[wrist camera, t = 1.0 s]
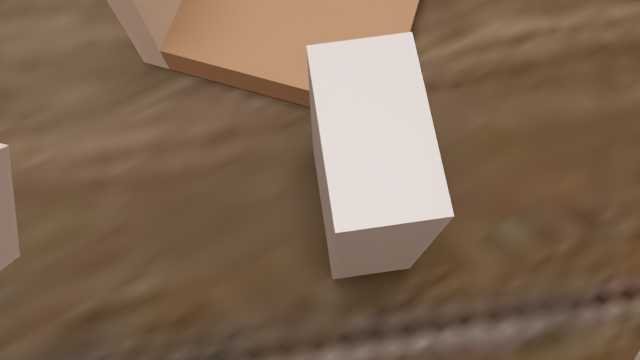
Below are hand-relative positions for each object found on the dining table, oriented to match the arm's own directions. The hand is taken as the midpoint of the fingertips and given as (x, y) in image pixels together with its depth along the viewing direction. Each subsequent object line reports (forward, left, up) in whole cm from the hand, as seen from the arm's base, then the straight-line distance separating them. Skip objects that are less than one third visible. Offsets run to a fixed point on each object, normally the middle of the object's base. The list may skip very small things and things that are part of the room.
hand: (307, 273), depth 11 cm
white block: (0, +9, -24) cm, 26 cm away
